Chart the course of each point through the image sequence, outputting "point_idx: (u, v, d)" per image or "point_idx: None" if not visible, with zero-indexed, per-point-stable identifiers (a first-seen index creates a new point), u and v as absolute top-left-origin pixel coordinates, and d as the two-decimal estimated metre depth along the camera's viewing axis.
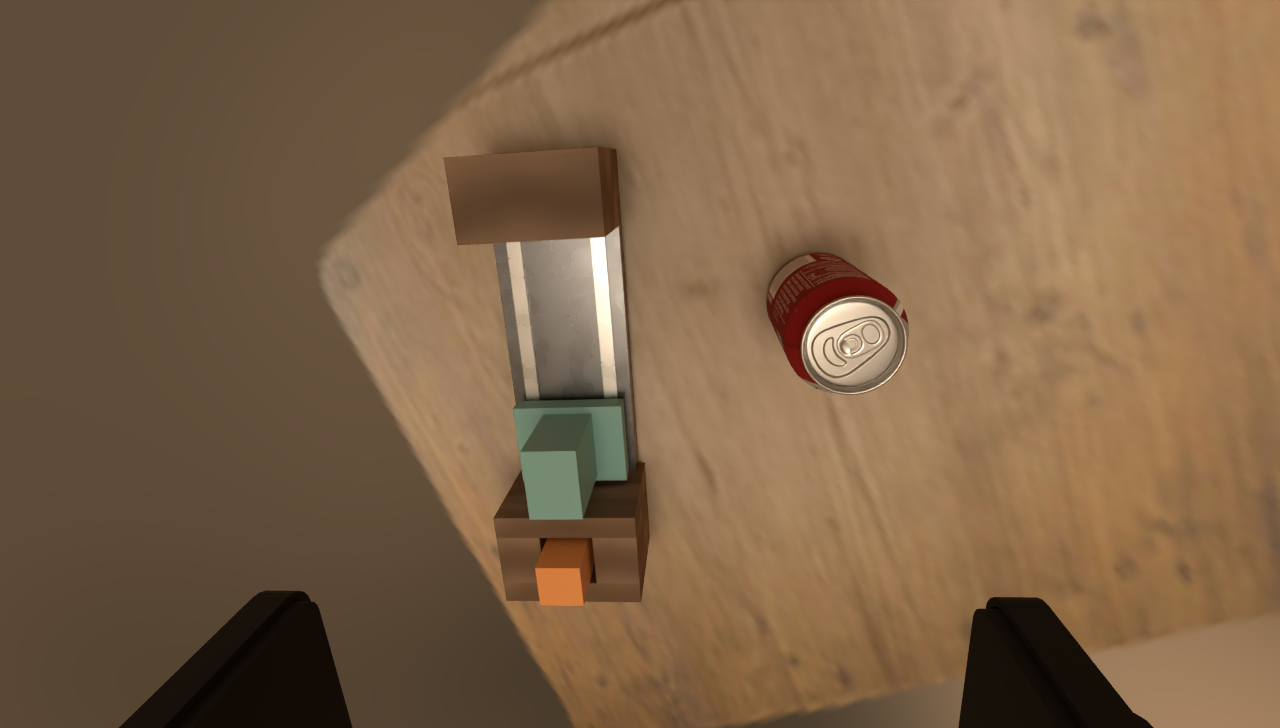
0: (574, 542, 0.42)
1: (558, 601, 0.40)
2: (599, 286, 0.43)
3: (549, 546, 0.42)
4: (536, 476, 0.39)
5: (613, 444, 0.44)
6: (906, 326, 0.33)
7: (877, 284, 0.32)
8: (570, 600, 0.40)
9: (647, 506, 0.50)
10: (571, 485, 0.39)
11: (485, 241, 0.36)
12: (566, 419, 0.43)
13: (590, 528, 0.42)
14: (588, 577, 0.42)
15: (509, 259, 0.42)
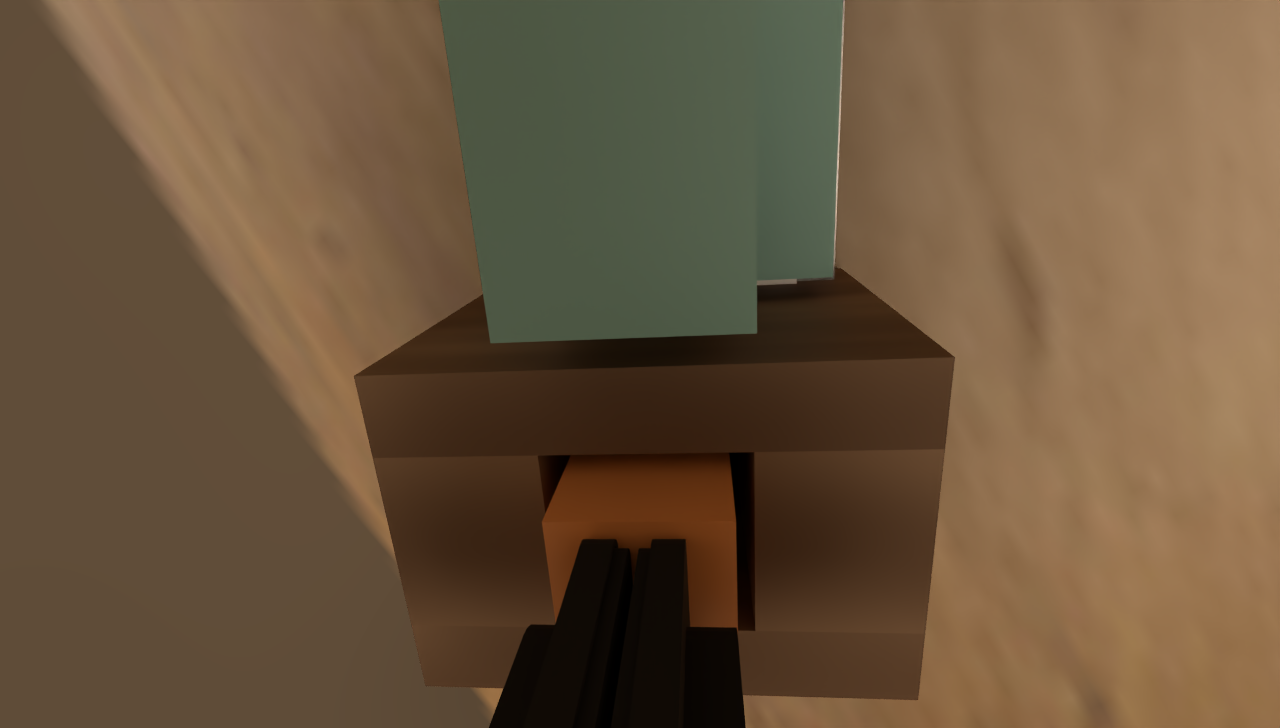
0: None
1: None
2: None
3: None
4: (522, 80, 0.07)
5: (799, 137, 0.13)
6: None
7: None
8: None
9: None
10: (713, 127, 0.07)
11: None
12: None
13: (751, 410, 0.10)
14: None
15: None
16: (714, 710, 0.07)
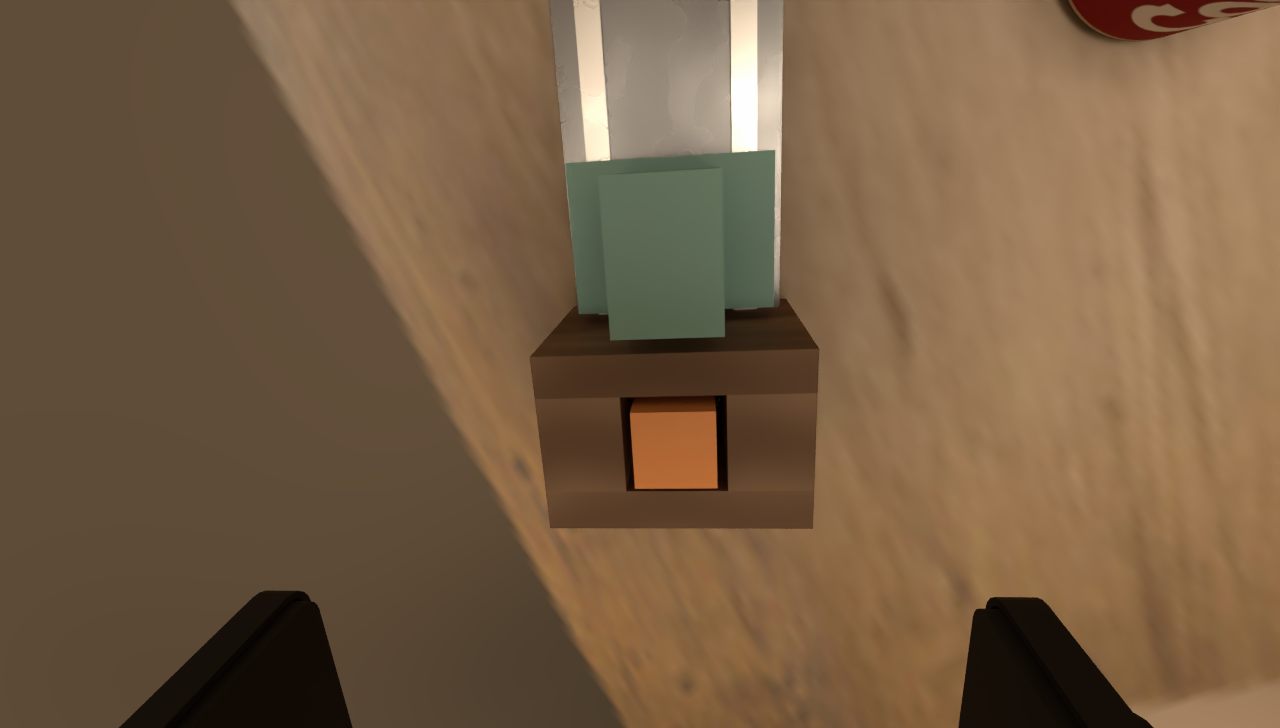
0: None
1: (669, 480, 0.22)
2: None
3: None
4: (631, 235, 0.18)
5: (754, 232, 0.23)
6: None
7: None
8: (692, 477, 0.22)
9: None
10: (706, 255, 0.18)
11: None
12: None
13: (725, 374, 0.21)
14: None
15: None
16: None
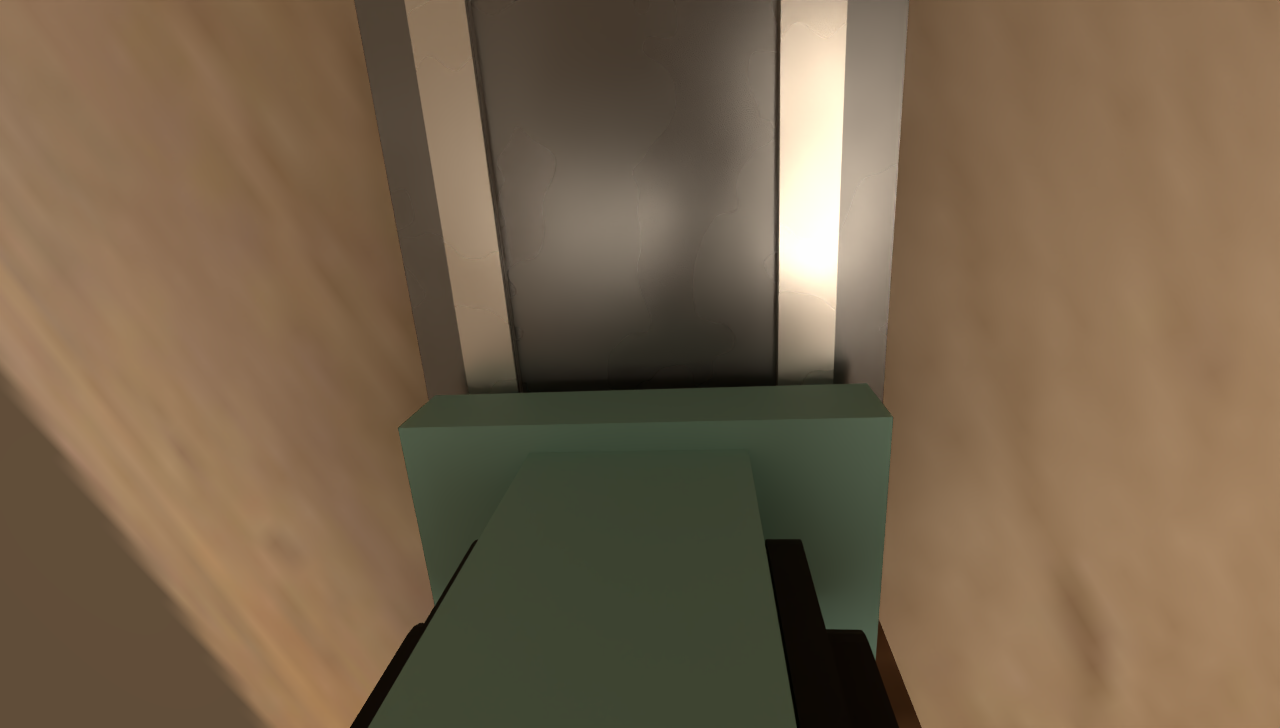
0: None
1: None
2: None
3: None
4: None
5: (834, 580, 0.10)
6: None
7: None
8: None
9: None
10: None
11: None
12: (641, 478, 0.09)
13: None
14: None
15: None
16: (864, 715, 0.07)
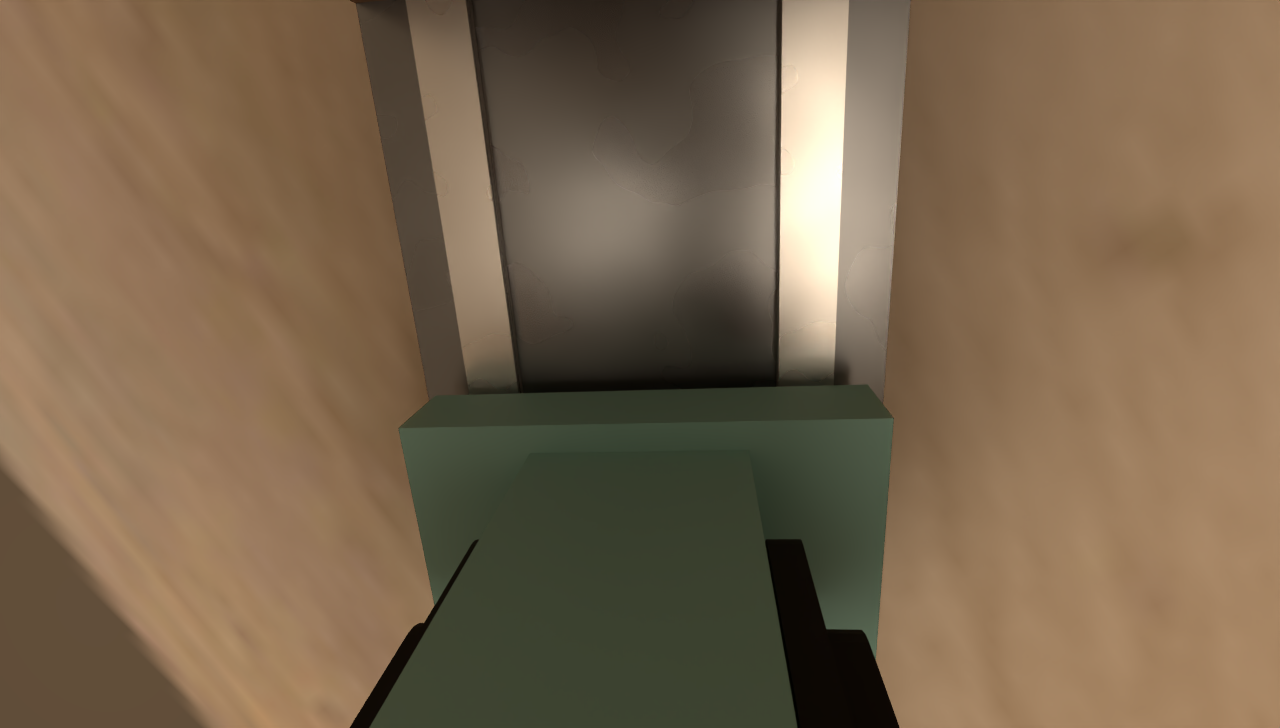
0: None
1: None
2: (801, 228, 0.10)
3: None
4: None
5: (834, 582, 0.10)
6: None
7: None
8: None
9: None
10: None
11: None
12: (641, 479, 0.09)
13: None
14: None
15: (429, 116, 0.10)
16: (864, 715, 0.07)
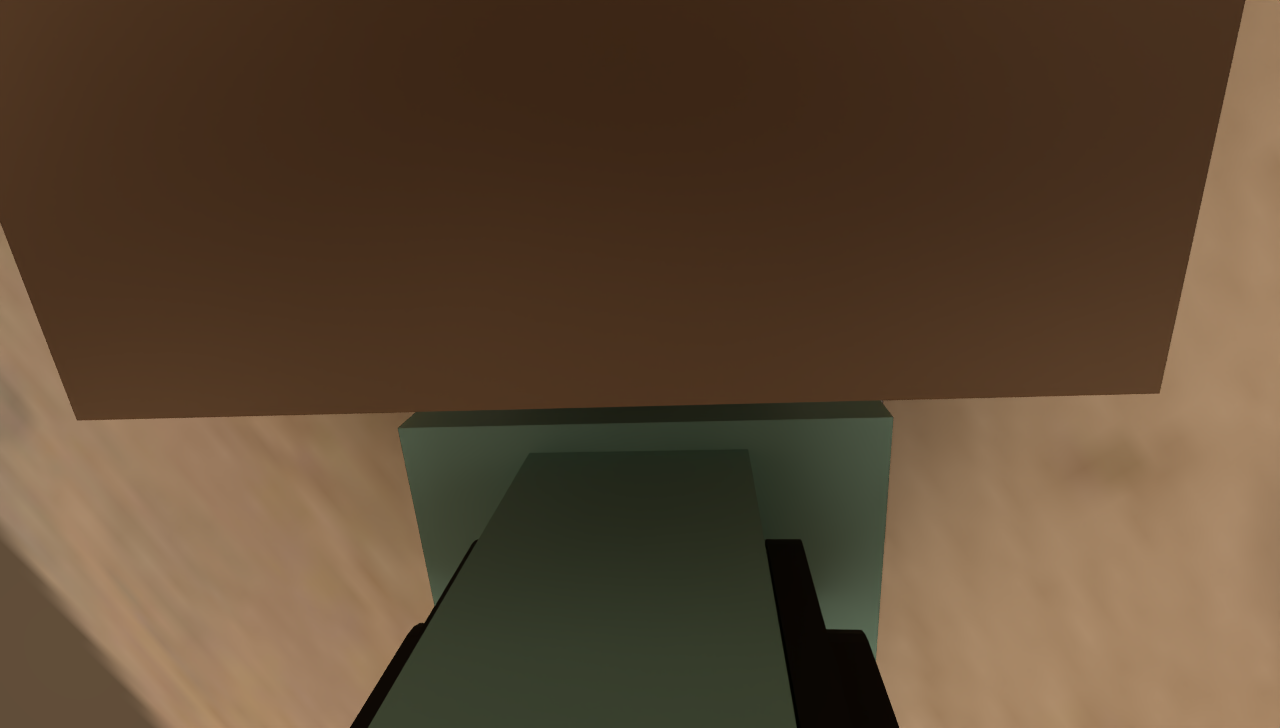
0: None
1: None
2: None
3: None
4: None
5: (834, 580, 0.10)
6: None
7: None
8: None
9: None
10: None
11: (254, 402, 0.05)
12: (640, 478, 0.09)
13: None
14: None
15: None
16: (864, 715, 0.07)
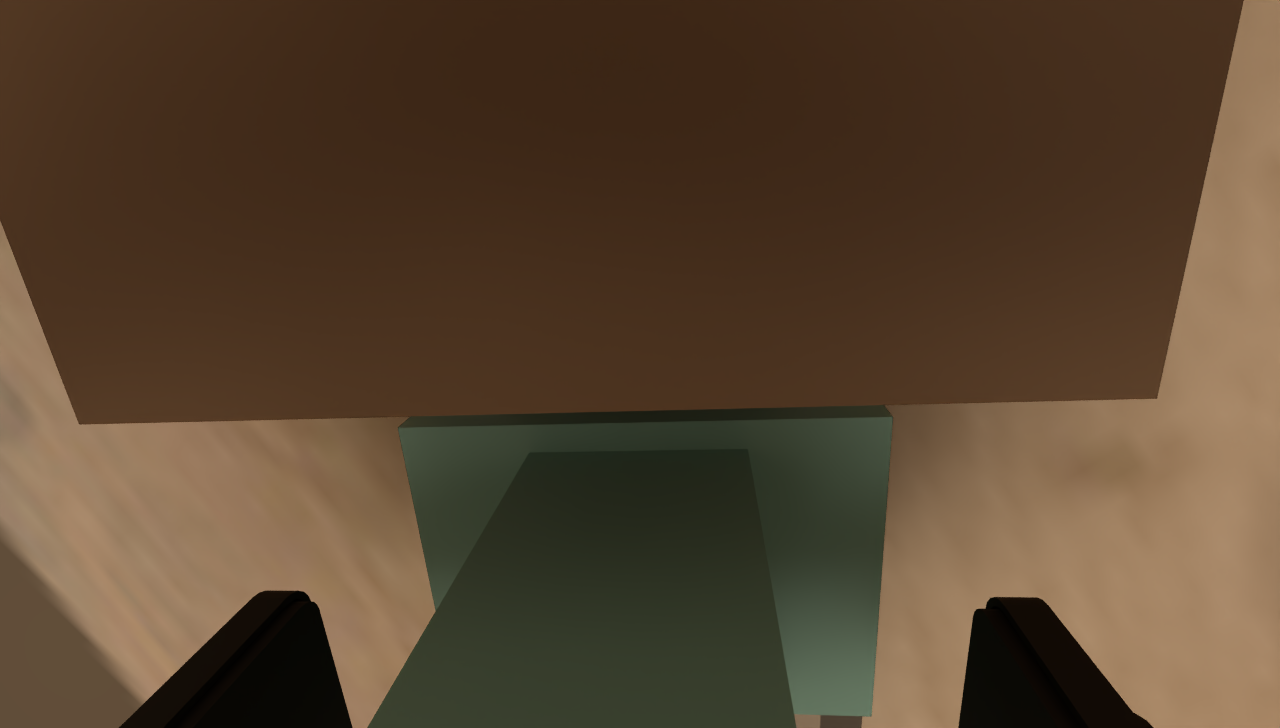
0: None
1: None
2: None
3: None
4: None
5: (834, 581, 0.10)
6: None
7: None
8: None
9: None
10: None
11: (256, 406, 0.05)
12: (641, 478, 0.09)
13: None
14: None
15: None
16: None
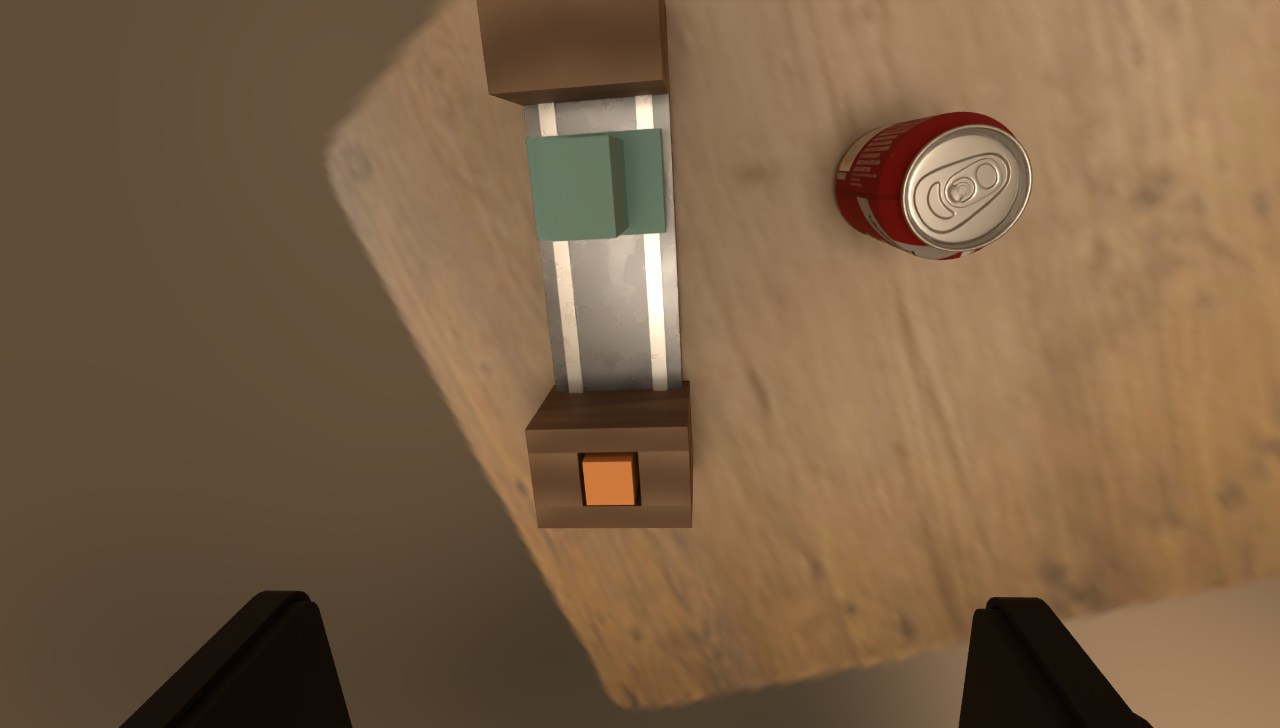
0: None
1: (606, 500, 0.37)
2: None
3: None
4: (558, 176, 0.30)
5: (649, 182, 0.36)
6: None
7: (992, 119, 0.27)
8: (619, 498, 0.37)
9: (691, 432, 0.45)
10: (602, 187, 0.30)
11: (521, 88, 0.31)
12: None
13: (636, 440, 0.37)
14: (637, 478, 0.39)
15: (542, 136, 0.37)
16: None
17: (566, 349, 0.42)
